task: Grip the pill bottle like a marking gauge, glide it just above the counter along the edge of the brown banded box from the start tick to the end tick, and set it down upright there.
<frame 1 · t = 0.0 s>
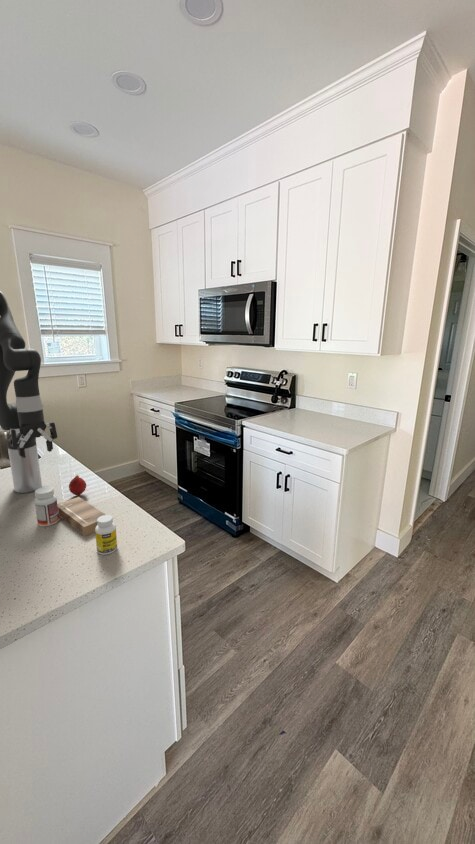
hand: (36, 454, 123), 17 cm above the counter, tool pointing down, fingers open, 8 cm apart
brown banded box: (82, 518, 114), on the counter
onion: (78, 495, 130), on the counter
supplement bottle: (107, 550, 99), on the counter
pill bottle: (48, 522, 112), on the counter
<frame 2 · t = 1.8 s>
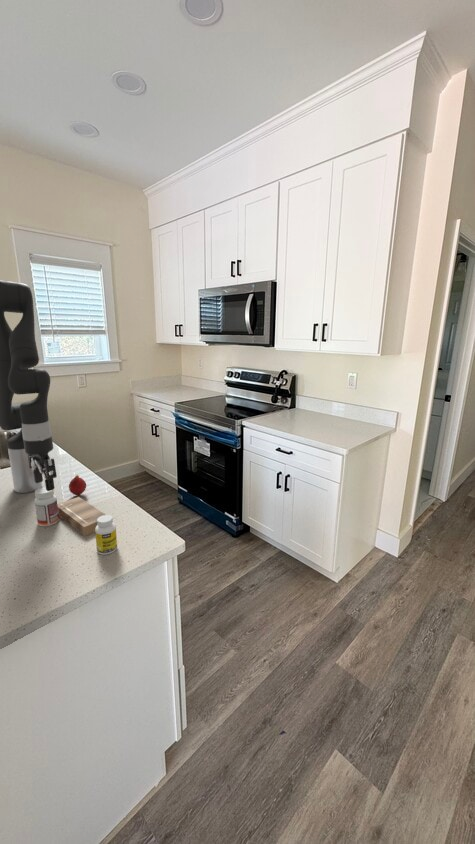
hand: (44, 486, 109), 13 cm above the counter, tool pointing down, fingers open, 8 cm apart
nothing on the counter moved.
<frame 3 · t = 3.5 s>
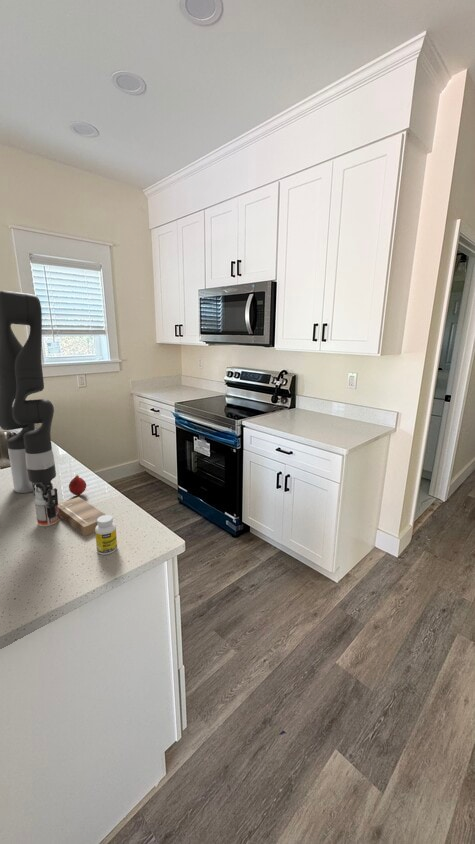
hand: (47, 513, 111), 3 cm above the counter, tool pointing down, fingers closed on pill bottle, 6 cm apart
pill bottle: (48, 522, 112), on the counter, touching gripper
everything else where it was.
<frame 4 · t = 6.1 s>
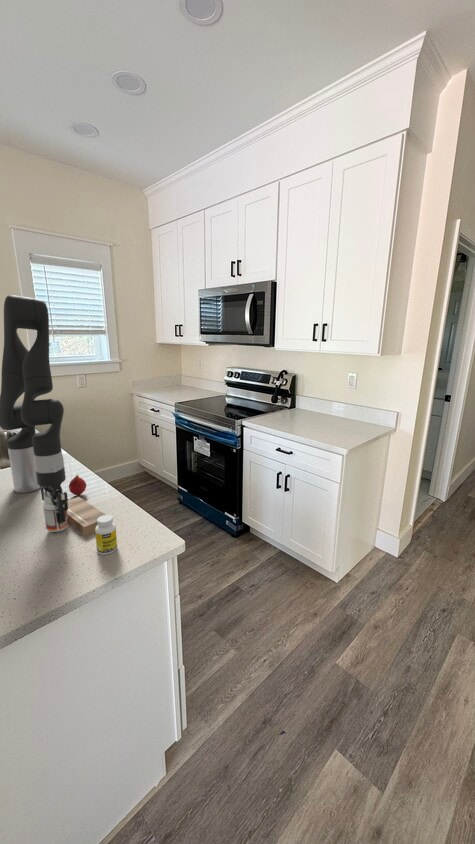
hand: (56, 518, 107), 4 cm above the counter, tool pointing down, fingers closed on pill bottle, 6 cm apart
pill bottle: (57, 527, 108), point 1 cm above the counter, touching gripper
everything else where it was.
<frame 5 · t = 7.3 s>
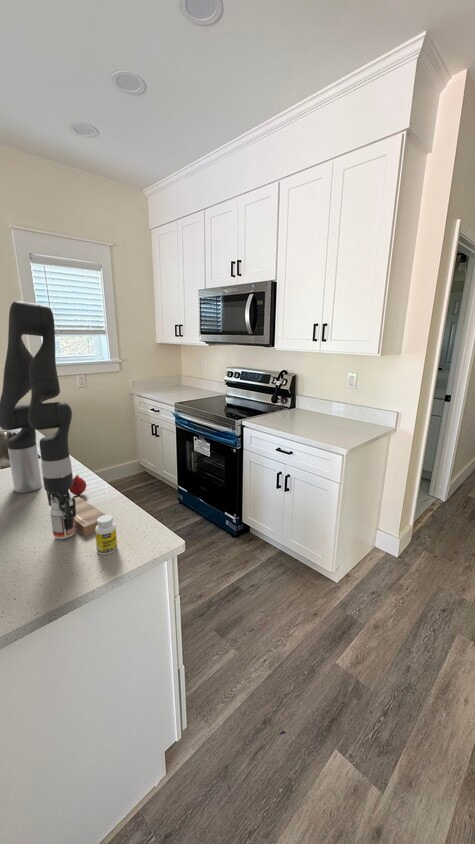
hand: (63, 524, 104), 4 cm above the counter, tool pointing down, fingers closed on pill bottle, 6 cm apart
pill bottle: (65, 534, 105), point 1 cm above the counter, touching gripper
everything else where it was.
when the fingers open (3 cm above the counter, at t = 8.6 s): pill bottle stays where it is, on the counter.
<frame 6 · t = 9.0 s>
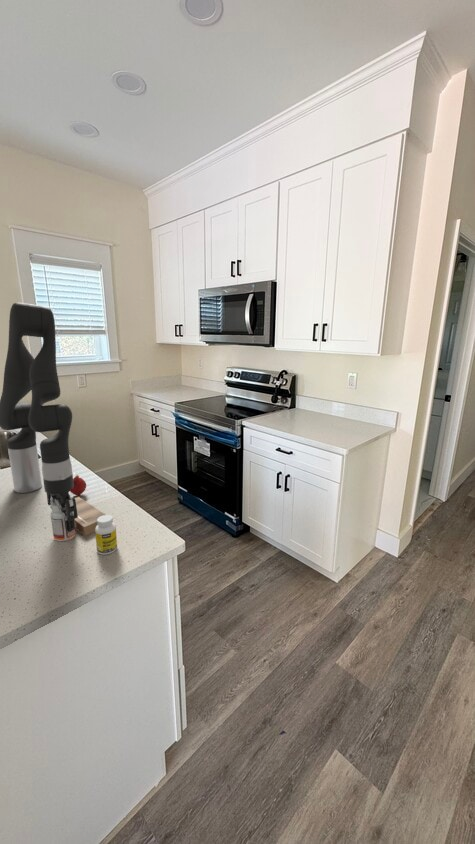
hand: (64, 524, 104), 4 cm above the counter, tool pointing down, fingers open, 8 cm apart
pill bottle: (65, 536, 105), on the counter
everything else where it was.
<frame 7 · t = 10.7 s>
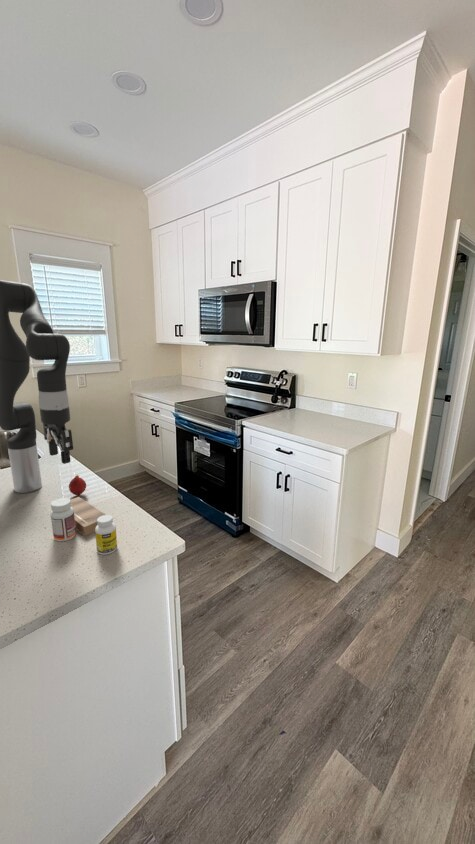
hand: (59, 458, 104), 23 cm above the counter, tool pointing down, fingers open, 8 cm apart
nothing on the counter moved.
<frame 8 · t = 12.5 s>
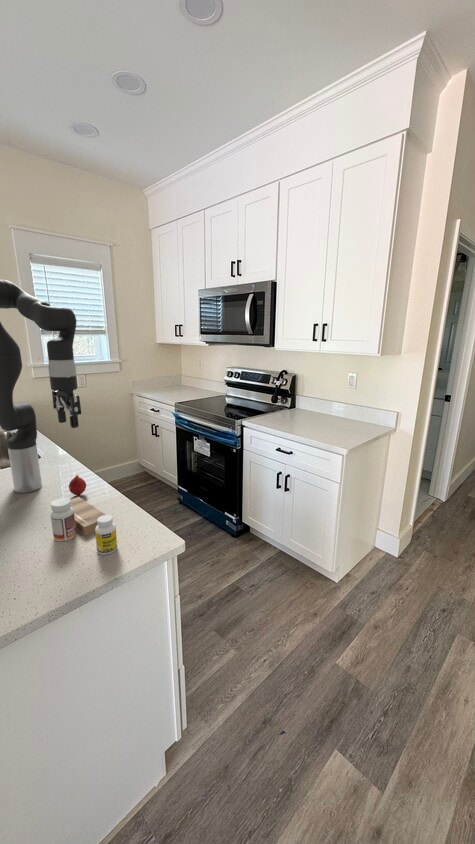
hand: (68, 424, 112), 30 cm above the counter, tool pointing down, fingers open, 8 cm apart
nothing on the counter moved.
at the end: pill bottle 0.2 cm from the target spot, on the counter; pill bottle tilted 0°; the gripper is holding nothing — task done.
